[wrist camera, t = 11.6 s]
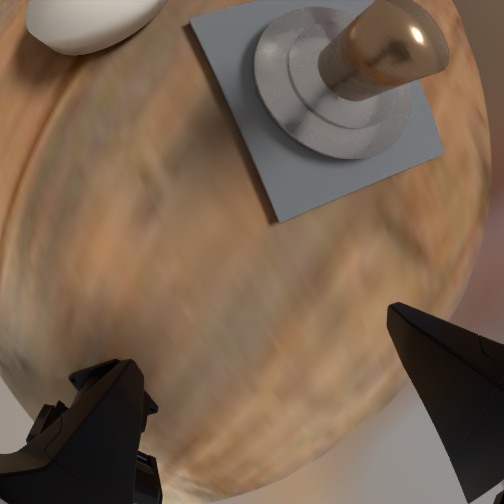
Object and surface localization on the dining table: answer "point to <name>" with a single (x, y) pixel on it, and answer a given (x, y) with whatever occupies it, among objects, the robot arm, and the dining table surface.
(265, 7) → the mat
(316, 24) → the cylinder on round base
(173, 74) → the dining table surface
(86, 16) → the white rounded piece
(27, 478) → the robot arm
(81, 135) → the dining table surface
